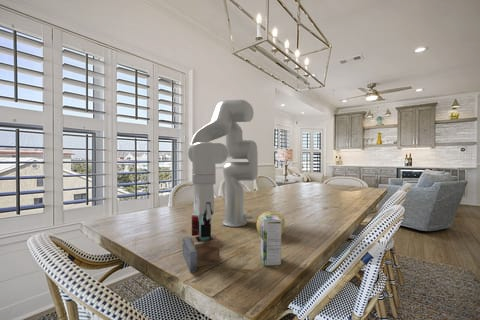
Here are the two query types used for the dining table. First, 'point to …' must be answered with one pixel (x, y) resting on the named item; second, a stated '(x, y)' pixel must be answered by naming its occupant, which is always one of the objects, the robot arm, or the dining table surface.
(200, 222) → the dowel
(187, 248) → the wall
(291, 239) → the dining table surface
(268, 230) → the syrup box
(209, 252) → the brown wooden open box
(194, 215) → the canned food
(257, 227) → the sculpture
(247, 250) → the dining table surface
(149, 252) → the dining table surface
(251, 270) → the dining table surface
